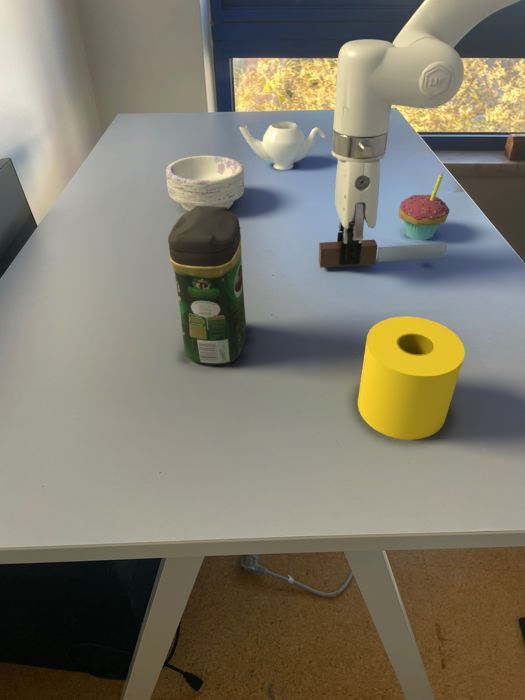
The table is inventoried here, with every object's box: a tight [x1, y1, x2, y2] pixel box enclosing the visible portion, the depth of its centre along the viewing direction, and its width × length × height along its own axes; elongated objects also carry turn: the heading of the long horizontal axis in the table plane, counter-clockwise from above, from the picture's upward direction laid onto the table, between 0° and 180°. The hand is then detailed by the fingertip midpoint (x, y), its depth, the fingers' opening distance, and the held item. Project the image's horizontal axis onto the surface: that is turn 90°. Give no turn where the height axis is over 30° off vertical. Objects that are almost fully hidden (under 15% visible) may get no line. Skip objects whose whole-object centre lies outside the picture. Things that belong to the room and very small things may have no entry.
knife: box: [318, 239, 448, 268], centre depth 83 cm, size 20×2×3 cm, turn 92°
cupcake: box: [398, 170, 451, 241], centre depth 90 cm, size 9×8×12 cm
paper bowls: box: [165, 155, 245, 212], centre depth 103 cm, size 15×15×8 cm
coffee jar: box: [167, 206, 247, 366], centre depth 64 cm, size 10×8×19 cm
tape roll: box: [357, 316, 466, 441], centre depth 57 cm, size 10×10×9 cm
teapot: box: [239, 121, 328, 171], centre depth 119 cm, size 10×20×9 cm, turn 92°
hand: (347, 258), depth 84 cm, fingers closed on knife, 2 cm apart
